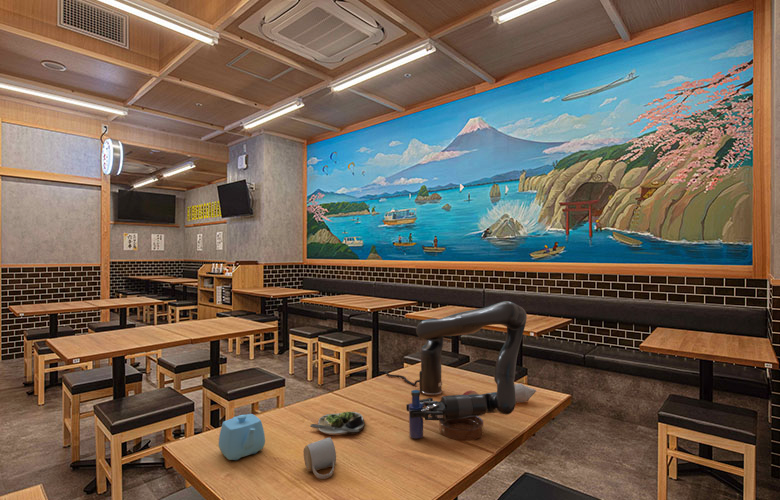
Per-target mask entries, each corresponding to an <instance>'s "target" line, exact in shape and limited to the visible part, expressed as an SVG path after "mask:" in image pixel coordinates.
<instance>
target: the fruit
mask: <svg viewBox="0 0 780 500" xmlns="http://www.w3.org/2000/svg"><path fill="white" fill-rule="evenodd" d="M475 394H479V393H478V392H477V391H476V390H475V391H474V390H467V391H464V392H463V394H462V395H475Z"/></svg>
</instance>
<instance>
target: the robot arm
mask: <svg viewBox="0 0 780 500" xmlns="http://www.w3.org/2000/svg"><path fill="white" fill-rule="evenodd" d="M527 319H528V314H527V312H526V309H524V308H523V307H522V306H520V305H518V304H516V303H514V302H512V301H507V300H505V301H500V302H496V303H494V304H491V305H488V306H485V307H481V308H476V309H472V310H471V309H470V310H466V311H460V312H457V313H453V314H450V315H447V316H444V317H441V318H427V319H424V320H421V321H420V322H419V323H418V324H417V326H416V328H415V333H416V335H417V337H418V338H419V339H421V340H422V341H426V342H425V344H424V345H423V346H422V347H421V348H420V371H419V379H418V380H417V379H416V380H415V381H414V382H411V381H410V380H409V379H407V378H406V377H405V376H403V375H400V374H391V373H389V372H388V371H387V370H383V371H382V372H381V373H382V374H384V373H385V374H386V375H387V376H389V377H393V378H401V379H403V380H404V381H405V382H406V383H407V384H409V385H411V386H417V384H419V391H420V394H423V395H425V396H429V397H428V398H422V399H420V403H421V404H422V405H423V409H422V410H410V417H411V418H415V417H422V418H423V419H424V421H439V420H443V418H444V419H445V420H449V419H461V418H467V417H474V416H478V417H482V416H485V415H486V414H487V415H488V414H500V415H504V416H508V415H511V414H512V413H513V412H514V410H515V408H516V395H515V386H514V385H515V379H516V370H517V361H518V355H519V351H520V346H521V342H522V340H523V339H522V338H523V336H524V331H525V328H526V325H527ZM494 325H498V326H499V325H500V326H504V327H506V335H505V336H506V337H505V340H504V343H503V345H502V347H501V349H500V350H499V352H498V354H497V357H496V361H495V366H494V375H493V381H494V383H495V384H496V391H493V392H486V393H480V394H479V393H478V394H475V395H463V394H453V395H443V396H441V398H440V401H439V400H434V398H433V397H434V396H440V395H442V393H443V387H442V386H443V381H442V350H443V347H444V337H450V336H451V337H452V336H463V335H471V334H475V333H477V332H479V331H480V330H481V329H483V328H484V327H486V326H494ZM430 396H431V397H430ZM409 404H410V403H407V404H406V405H405V408H406V409H405V410H406V411H407V412H409Z"/></svg>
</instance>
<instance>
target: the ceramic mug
mask: <svg viewBox="0 0 780 500" xmlns="http://www.w3.org/2000/svg"><path fill="white" fill-rule="evenodd" d="M303 461H304V466H305V468H306V470H307V471H308V472H313V474H314V476H315V477H316V478H317V479H320V480H326V479H329V478H330V477H332V475H333V474H334V471H335V466H336V464H337V452H336V447H335V444H334V441H333V439H332V438H331V436H329V437H326V438H322V439H320V440H316V441H315V442H311V443H309V444H307V445H305V446H304V447H303ZM331 467H332V468H331ZM329 468H331V469H330V471H329V472H328V473H326V474H321V473H318V471H319V470H324V469H329Z"/></svg>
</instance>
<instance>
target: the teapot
mask: <svg viewBox="0 0 780 500" xmlns="http://www.w3.org/2000/svg"><path fill="white" fill-rule="evenodd" d="M265 435H266V434H265V430H264V426H263V422H262V420H261V419H260V418H259V417H258V416H257V415H255V414H253V413H247V414H240V415H237V416H233V417H232V418H229V419H227V420H224V421H222V424H221V427H220V431H219V437H218V447H219V450H220V452H221V454H222V455H223V456H224V457H225V458H226V459H227V460H229V461H238V460H240V459H241V458H244V457H248V456H250V455H255V454H257V453H258V452H260V451H261V450H263V449H264V447H265V444H266V436H265Z"/></svg>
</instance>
